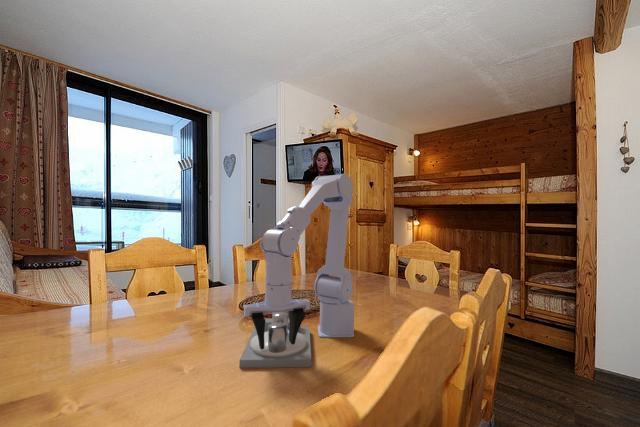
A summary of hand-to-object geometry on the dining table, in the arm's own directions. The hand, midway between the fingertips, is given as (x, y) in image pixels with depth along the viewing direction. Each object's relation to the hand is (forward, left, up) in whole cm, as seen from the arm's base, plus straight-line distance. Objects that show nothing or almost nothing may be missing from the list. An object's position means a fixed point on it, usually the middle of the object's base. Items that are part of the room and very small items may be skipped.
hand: (277, 344), depth 64 cm
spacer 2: (0, 0, -1) cm, 1 cm away
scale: (0, -7, -3) cm, 7 cm away
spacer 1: (0, -8, -1) cm, 8 cm away
